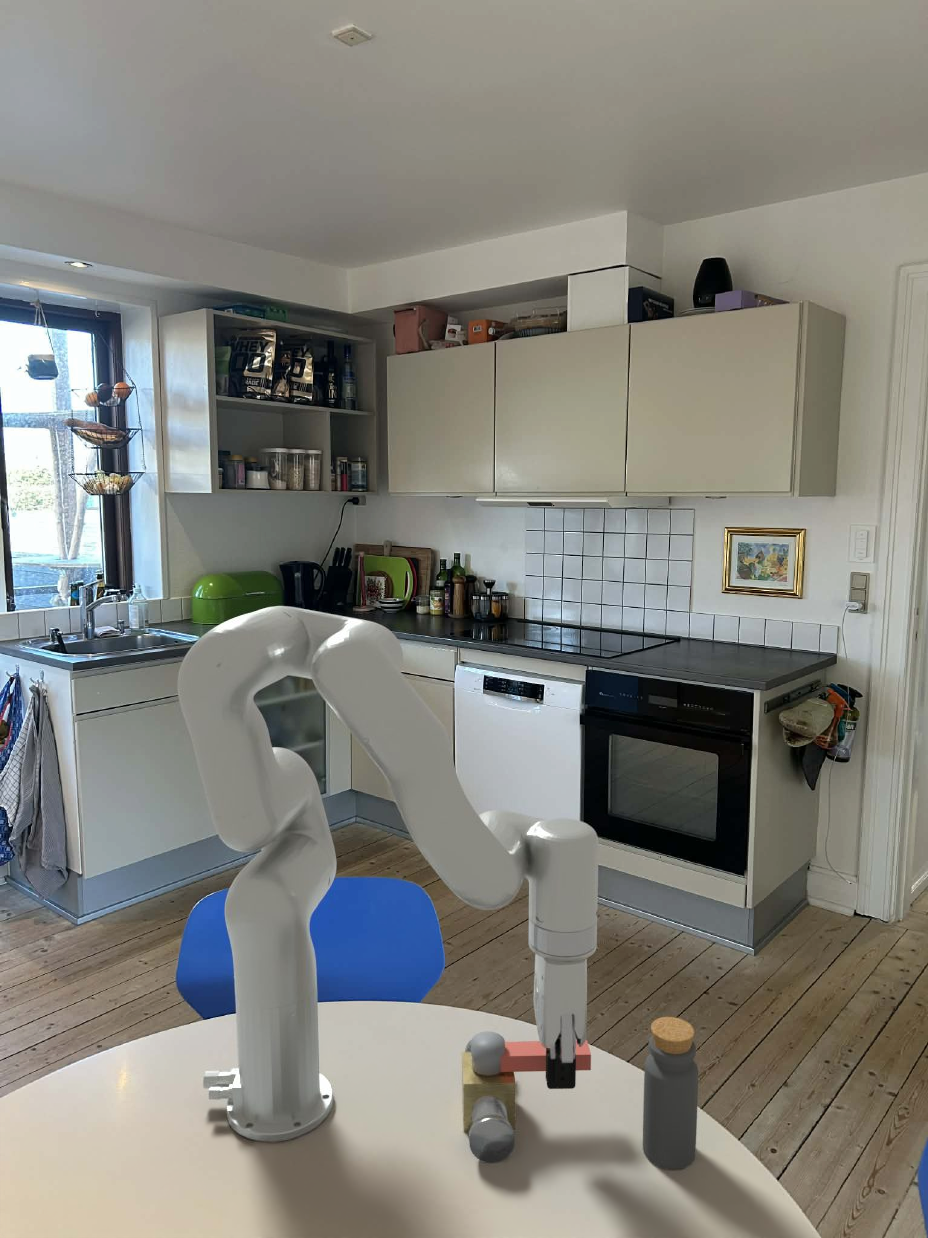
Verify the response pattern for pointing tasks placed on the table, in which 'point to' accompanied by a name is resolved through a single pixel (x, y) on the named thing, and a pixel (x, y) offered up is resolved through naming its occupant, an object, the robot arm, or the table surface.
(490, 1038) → the lever
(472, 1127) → the valve body
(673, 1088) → the bottle
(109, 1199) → the table surface
